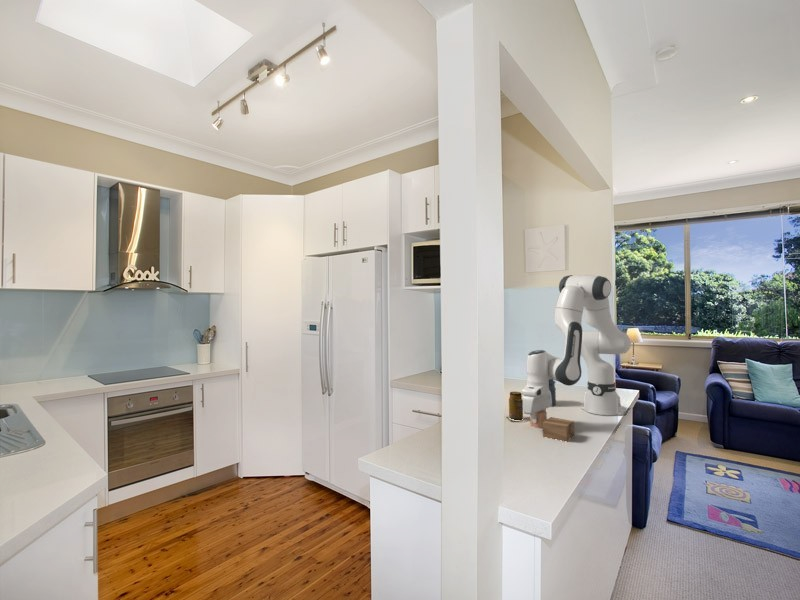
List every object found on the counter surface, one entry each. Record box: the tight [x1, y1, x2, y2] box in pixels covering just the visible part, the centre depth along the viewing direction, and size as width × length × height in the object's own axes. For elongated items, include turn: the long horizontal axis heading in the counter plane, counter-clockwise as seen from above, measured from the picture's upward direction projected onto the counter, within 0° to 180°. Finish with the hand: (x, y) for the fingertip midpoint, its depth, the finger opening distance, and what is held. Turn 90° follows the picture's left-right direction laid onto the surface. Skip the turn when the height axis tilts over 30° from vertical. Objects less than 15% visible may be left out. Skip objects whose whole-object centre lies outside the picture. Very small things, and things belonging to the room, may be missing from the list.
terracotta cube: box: [529, 411, 548, 429], centre depth 167 cm, size 5×5×6 cm
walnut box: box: [542, 416, 575, 442], centre depth 153 cm, size 9×9×6 cm
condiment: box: [508, 391, 527, 423], centre depth 178 cm, size 7×8×12 cm
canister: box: [549, 379, 557, 407], centre depth 207 cm, size 13×13×18 cm
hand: (538, 420), depth 167 cm, fingers closed on terracotta cube, 5 cm apart
